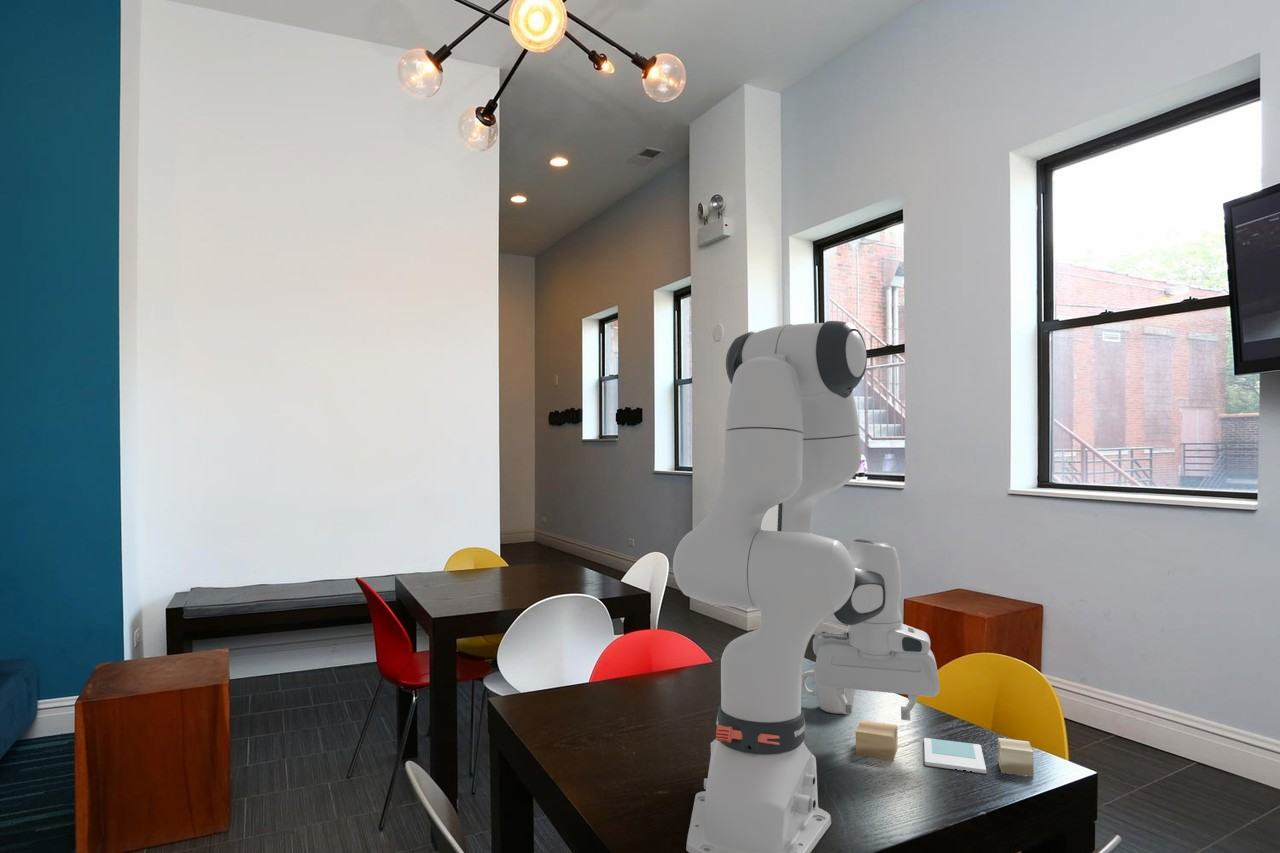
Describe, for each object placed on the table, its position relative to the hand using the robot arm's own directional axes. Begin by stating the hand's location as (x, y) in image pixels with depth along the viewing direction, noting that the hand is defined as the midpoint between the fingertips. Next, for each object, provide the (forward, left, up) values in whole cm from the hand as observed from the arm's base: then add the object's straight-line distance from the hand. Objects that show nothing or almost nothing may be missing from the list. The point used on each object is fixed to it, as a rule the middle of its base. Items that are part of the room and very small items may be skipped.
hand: (876, 716), depth 127 cm
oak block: (-1, 0, -6) cm, 6 cm away
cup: (+18, +10, -6) cm, 21 cm away
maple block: (-1, -21, -6) cm, 22 cm away
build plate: (+1, -12, -5) cm, 13 cm away
